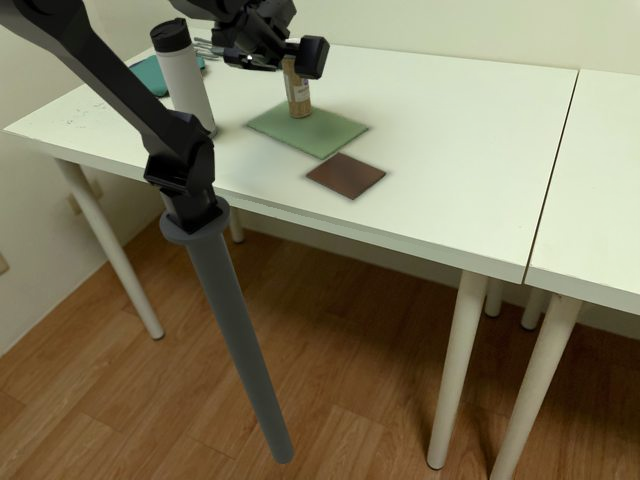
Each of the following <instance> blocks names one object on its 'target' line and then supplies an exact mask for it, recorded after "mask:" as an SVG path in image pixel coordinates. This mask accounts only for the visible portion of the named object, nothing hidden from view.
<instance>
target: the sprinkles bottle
mask: <svg viewBox="0 0 640 480" xmlns="http://www.w3.org/2000/svg"><path fill="white" fill-rule="evenodd" d="M300 40H301V38H297V37H293V38H291V37H290V38H289V39H286V41H285V42H290V43H299V44H300ZM297 50H298V49H297ZM294 62H295V59H289V58H283V59H282V67H283V69H282V75H283V81H284V82H283V83H284V89H285V92H286V99H287V101H288V104H289V114H290V116H292V117H294V118H303V117H307V116H308V115H310V114H311V113H312V107H311V106H312V100H311V91H310V90H311V89H310V83H309V82H310V81H309V79H304V78H300V76H298V75H296V74H295V72H294Z"/></svg>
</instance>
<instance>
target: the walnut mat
mask: <svg viewBox="0 0 640 480" xmlns="http://www.w3.org/2000/svg"><path fill="white" fill-rule="evenodd" d="M386 175H387V172H386V171H385V170H383V169H380V168H377V167H375V166H373V165H371V164H369V163H365V162H363V161H361V160H359V159H357V158H354V157H352V156H350V155H347V154H345V153H342V152H341V151H338V152H336V153H335V154H333V155H332V156H331V157H329V158H328V159H326V160H325V161H323V162H322V163H320V164H319V165H317V166H316V167H315V168H313V169H312V170H310V171H309V172H307V173H306V174H305V177H306V178H308V179H310V180H312V181H314V182H316V183H318V184H320V185H322V186H324V187H327V188H328V189H331V190H332V191H334V192H336V193H338V194H340V195H343V196H345V197H346V198H348V199H350V200H355V199H356V198H358V197H359V196H360V195H361V194H363V193H364V192H365V191H367V190H368V189H370V187H372V186H373V185H374V184H375V183H376V182H378V181H380V179H382V178H383V177H384V176H386Z"/></svg>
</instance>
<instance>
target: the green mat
mask: <svg viewBox="0 0 640 480" xmlns="http://www.w3.org/2000/svg"><path fill="white" fill-rule="evenodd" d="M311 107H312V113H311V114H310V115H308V116H307V117H303V118H294V117H292V116H290V114H289V104H288V100H286V101H284V102H282V103H280V104H278V105H277V106H275V107H273V108H272V109H269V110H268V111H266V112H265V113H263V114H261V115H259V116H257V117H255V118H254V119H252V120H251V121H248V122H247V123H246V126H247V127H249V128H251V129H253V130H256V131H257V132H260V133H262V134H264V135H266V136H269V137H270V138H273V139H275V140H277V141H279V142H282V143H284V144H286V145H288V146H291V147H293V148H295V149H297V150H300V151H301V152H304V153H306V154H308V155H310V156H313V157H315V158H317V159H320V160H321V161H322V160H323V161H324V160H325V159H327V157H329V156H331V155H332V154H334V153H335V152H336V151H338V150H339V149H342V147H344V146H345V145H347V144H348V143H350V142H351V141H353V140H355V138H357V137H358V136H360V135H362V134H363V133H364V132H366V131H368V129H369V126H367V125H363V124H361V123H358V122H356V121H353V120H350V119H348V118H345V117H344V116H343V117H342V116H340V115H337V114H335V113H331V112H329V111H326V110H323V109H321V108H318V107H315V106H313V105H311Z"/></svg>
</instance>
